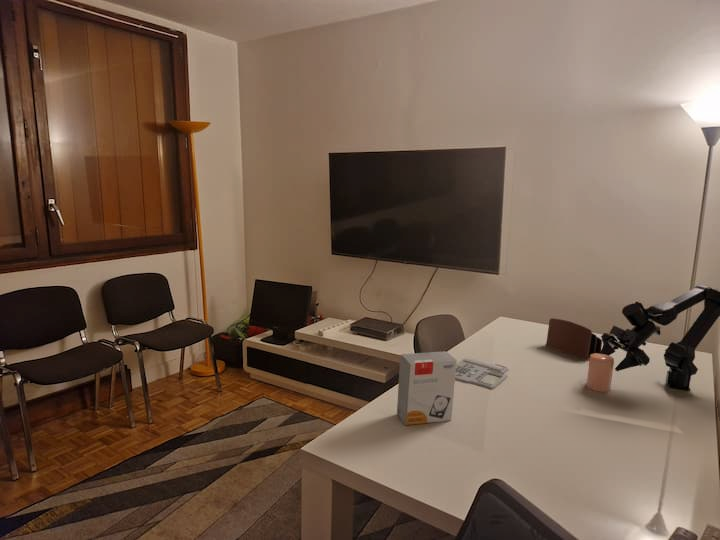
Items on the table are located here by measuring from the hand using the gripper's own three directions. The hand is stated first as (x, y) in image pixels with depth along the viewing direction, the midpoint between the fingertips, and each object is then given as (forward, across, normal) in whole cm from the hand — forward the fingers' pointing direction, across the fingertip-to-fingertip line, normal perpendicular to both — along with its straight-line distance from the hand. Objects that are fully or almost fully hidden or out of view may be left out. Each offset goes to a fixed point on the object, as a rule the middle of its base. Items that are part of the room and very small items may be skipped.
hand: (606, 364), depth 167 cm
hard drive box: (+56, +11, -42) cm, 71 cm away
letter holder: (-2, -37, +16) cm, 40 cm away
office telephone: (+35, -19, -20) cm, 44 cm away
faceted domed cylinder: (+8, 0, +5) cm, 10 cm away
